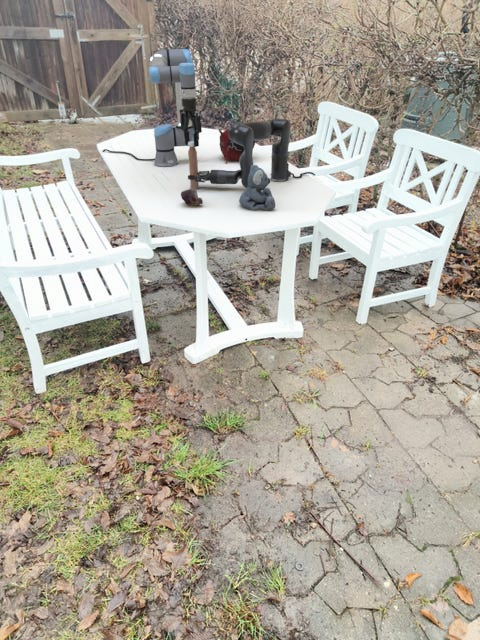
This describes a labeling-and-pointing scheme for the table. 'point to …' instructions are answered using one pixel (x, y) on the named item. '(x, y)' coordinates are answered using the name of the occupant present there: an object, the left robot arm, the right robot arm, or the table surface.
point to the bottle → (193, 166)
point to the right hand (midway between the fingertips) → (189, 175)
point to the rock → (191, 197)
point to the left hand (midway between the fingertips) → (192, 145)
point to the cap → (191, 144)
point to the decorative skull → (230, 147)
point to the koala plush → (257, 191)
